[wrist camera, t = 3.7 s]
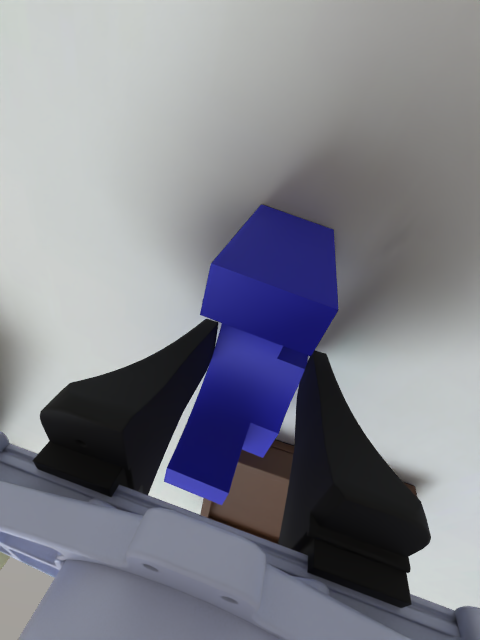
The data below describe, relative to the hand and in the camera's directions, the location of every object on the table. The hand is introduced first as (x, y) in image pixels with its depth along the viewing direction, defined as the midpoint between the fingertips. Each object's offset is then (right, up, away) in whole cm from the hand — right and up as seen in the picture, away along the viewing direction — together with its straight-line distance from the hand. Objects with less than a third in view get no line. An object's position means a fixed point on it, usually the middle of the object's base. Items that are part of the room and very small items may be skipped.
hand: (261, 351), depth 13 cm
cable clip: (0, +1, +1) cm, 2 cm away
